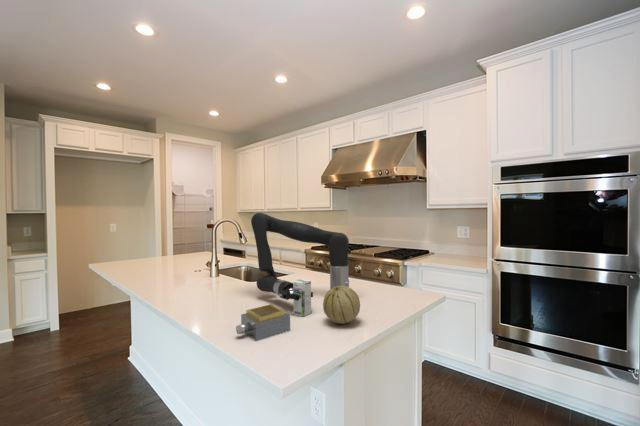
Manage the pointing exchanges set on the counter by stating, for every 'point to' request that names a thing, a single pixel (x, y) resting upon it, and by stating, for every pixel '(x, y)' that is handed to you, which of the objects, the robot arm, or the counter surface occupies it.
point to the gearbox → (264, 322)
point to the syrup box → (302, 297)
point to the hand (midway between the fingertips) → (305, 296)
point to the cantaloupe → (341, 304)
